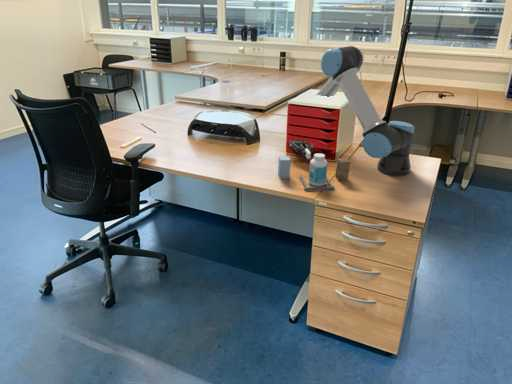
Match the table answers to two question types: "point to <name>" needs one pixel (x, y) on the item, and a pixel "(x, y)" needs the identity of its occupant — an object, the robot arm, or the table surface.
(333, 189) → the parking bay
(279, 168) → the slate-blue block
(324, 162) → the pill bottle
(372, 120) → the robot arm
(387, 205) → the table surface
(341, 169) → the walnut block
